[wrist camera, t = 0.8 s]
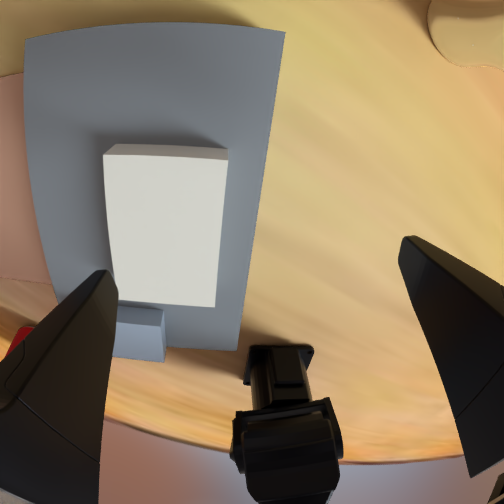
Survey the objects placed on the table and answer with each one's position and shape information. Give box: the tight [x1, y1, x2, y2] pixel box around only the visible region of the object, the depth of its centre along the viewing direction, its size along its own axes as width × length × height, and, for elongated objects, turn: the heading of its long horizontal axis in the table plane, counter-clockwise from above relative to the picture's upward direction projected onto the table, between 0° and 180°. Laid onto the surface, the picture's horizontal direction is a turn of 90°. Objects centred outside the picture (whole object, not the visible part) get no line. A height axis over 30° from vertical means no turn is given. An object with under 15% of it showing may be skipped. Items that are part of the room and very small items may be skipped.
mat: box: [0, 72, 52, 284], centre depth 19 cm, size 18×10×1 cm, turn 172°
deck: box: [23, 22, 285, 351], centre depth 20 cm, size 22×14×4 cm, turn 172°
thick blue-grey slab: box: [112, 306, 167, 362], centre depth 22 cm, size 4×7×2 cm, turn 82°
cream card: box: [103, 144, 228, 307], centre depth 17 cm, size 9×6×2 cm, turn 172°
